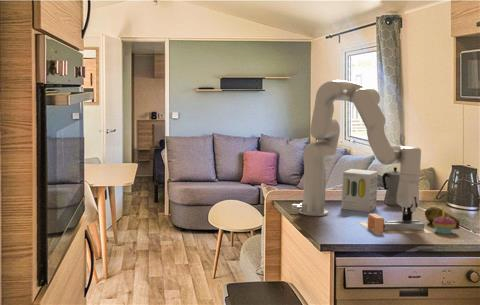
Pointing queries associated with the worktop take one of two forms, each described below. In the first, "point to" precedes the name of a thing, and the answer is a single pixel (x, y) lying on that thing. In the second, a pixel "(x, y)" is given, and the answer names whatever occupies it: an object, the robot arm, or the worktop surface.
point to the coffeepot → (391, 186)
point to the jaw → (403, 221)
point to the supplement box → (359, 190)
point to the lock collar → (375, 222)
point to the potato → (438, 215)
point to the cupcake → (444, 223)
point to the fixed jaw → (403, 226)
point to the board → (393, 231)
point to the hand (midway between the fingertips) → (406, 223)
